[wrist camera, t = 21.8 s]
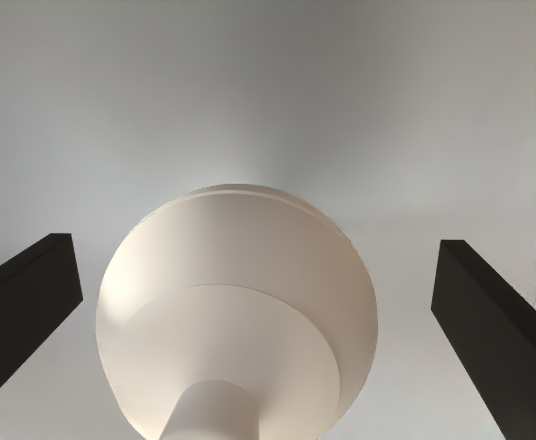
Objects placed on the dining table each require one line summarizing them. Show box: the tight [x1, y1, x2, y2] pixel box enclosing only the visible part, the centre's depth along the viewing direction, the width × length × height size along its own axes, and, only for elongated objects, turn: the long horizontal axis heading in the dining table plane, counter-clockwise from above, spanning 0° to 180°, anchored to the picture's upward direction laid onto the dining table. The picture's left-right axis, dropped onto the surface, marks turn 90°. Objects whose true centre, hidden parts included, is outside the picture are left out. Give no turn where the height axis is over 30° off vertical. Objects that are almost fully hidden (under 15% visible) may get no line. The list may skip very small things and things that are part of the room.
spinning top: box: [96, 184, 378, 440], centre depth 13 cm, size 8×8×12 cm
